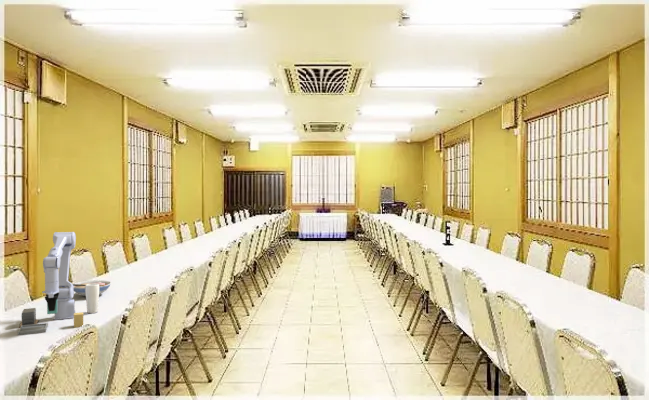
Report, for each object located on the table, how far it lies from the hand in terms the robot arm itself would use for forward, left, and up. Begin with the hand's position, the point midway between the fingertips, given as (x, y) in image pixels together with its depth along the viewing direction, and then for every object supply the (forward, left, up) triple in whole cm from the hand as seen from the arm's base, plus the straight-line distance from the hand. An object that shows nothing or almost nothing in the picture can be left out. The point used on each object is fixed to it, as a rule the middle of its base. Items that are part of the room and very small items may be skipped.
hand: (52, 309), depth 236 cm
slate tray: (+8, +2, -8) cm, 12 cm away
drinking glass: (-17, -23, -9) cm, 30 cm away
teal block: (0, 0, -2) cm, 2 cm away
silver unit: (+11, -10, -9) cm, 17 cm away
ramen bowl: (-16, -67, -9) cm, 69 cm away
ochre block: (-11, +2, -9) cm, 14 cm away
